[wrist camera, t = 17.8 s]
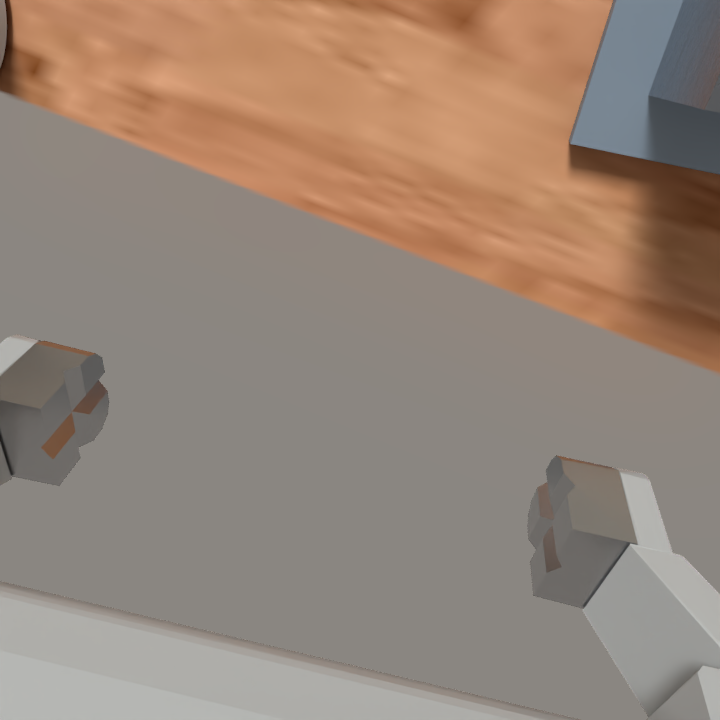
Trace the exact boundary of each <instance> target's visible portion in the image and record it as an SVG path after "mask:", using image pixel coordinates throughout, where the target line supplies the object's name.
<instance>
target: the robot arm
mask: <svg viewBox="0 0 720 720" xmlns="http://www.w3.org/2000/svg"><path fill="white" fill-rule="evenodd" d="M6 37H7V17H6V6H5V0H0V68H1V64H2V61H3V57H4V53H5V47H6ZM104 373H105V370H104V365H103V360H102V357H100V356H99V355H97V354H95V353H91V352H87V351H83V350H79V349H75V348H71V347H67V346H63V345H59V344H55V343H51V342H47V341H40V340H36V339H32V338H28V337H24V336H20V335H15V336H11V337H8V338H6V339H5V340H4V341H3V342H2V343H1V344H0V485H2V484H4V483H5V482H7V481H9V480H11V478H12V477H11V476H13V477H18V478H23V479H28V480H32V481H37V482H42V483H47V484H52V485H57V486H60V484H61V483H62V482H63V480H64V479H65V478H66V477H67V475H68V474H69V473H70V471H71V470H72V468H73V467H74V466H75V465H76V463H77V462H78V461H79V459H80V453H79V447H81V446H83V445H85V444H87V443H89V442H91V441H93V440H94V439H95V438H96V436H97V435H98V434H99V432H100V431H101V430H102V427H103V425H104V422H105V420H106V417H107V415H108V407H109V398H108V391H107V390H106V389H105V387H104V386H103V385H102V384H101V383H100V382H99V379H100V377H101V376H102V375H103V374H104ZM546 475H547V483H545V484H543V485H541V486H539V487H538V488H537V489H536V492H535V494H534V497H533V498H532V501H531V505H530V510H529V514H528V539H529V541H530V542H531V543H532V545H533V546H534V547H535V549H536V551H535V553H534V555H533V557H532V559H531V561H530V565H531V576H532V587H533V595H534V596H537V597H541V598H544V599H548V600H552V601H556V602H560V603H564V604H568V605H571V606H575V607H579V608H583V613H584V614H585V616H586V617H587V619H588V620H589V622H590V624H591V625H592V627H593V628H594V630H595V632H596V633H597V635H598V637H599V638H600V640H601V641H602V643H603V645H604V646H605V648H606V650H607V651H608V653H609V654H610V656H611V657H612V659H613V661H614V662H615V664H616V666H617V667H618V669H619V671H620V672H621V674H622V675H623V677H624V679H625V680H626V682H627V683H628V685H629V687H630V688H631V690H632V691H633V693H634V695H635V696H636V698H637V700H638V701H639V702H640V704H641V706H642V708H643V709H644V711H645V712H646V714H647V716H648V717H649V718H648V719H647V720H720V594H719V593H718V592H717V591H716V590H715V589H714V588H713V587H712V586H711V585H710V584H709V583H708V582H707V581H706V580H705V579H704V578H703V577H702V576H701V575H700V574H699V573H698V571H696V570H695V568H694V567H693V566H692V565H691V564H690V563H689V562H688V561H687V560H686V559H685V558H684V557H683V556H681V555H677V554H673V551H672V548H671V545H670V542H669V539H668V536H667V533H666V530H665V527H664V523H663V520H662V517H661V514H660V511H659V508H658V505H657V502H656V499H655V496H654V493H653V490H652V487H651V484H650V480H649V478H648V477H647V476H646V475H645V474H644V473H639V472H634V471H629V470H625V469H619V468H612V467H608V466H603V465H598V464H594V463H589V462H584V461H580V460H575V459H571V458H566V457H561V456H555V457H554V458H553V459H552V460H551V462H550V464H549V466H548V468H547V469H546ZM0 720H579V719H575V718H571V717H567V716H563V715H558V714H554V713H550V712H546V711H542V710H537V709H533V708H529V707H525V706H520V705H516V704H512V703H508V702H504V701H500V700H496V699H492V698H487V697H483V696H478V695H475V694H470V693H466V692H462V691H458V690H454V689H450V688H445V687H441V686H436V685H432V684H428V683H424V682H420V681H416V680H412V679H408V678H403V677H399V676H395V675H391V674H387V673H382V672H378V671H374V670H370V669H366V668H362V667H357V666H353V665H349V664H344V663H341V662H336V661H332V660H328V659H323V658H320V657H315V656H311V655H307V654H303V653H299V652H294V651H290V650H286V649H282V648H278V647H274V646H269V645H265V644H261V643H256V642H252V641H248V640H244V639H239V638H236V637H231V636H227V635H223V634H219V633H215V632H211V631H206V630H202V629H198V628H194V627H190V626H186V625H181V624H177V623H173V622H169V621H165V620H160V619H156V618H152V617H148V616H143V615H139V614H135V613H131V612H127V611H123V610H118V609H114V608H110V607H106V606H102V605H98V604H93V603H89V602H85V601H81V600H76V599H73V598H68V597H64V596H60V595H56V594H51V593H47V592H43V591H39V590H35V589H31V588H27V587H22V586H18V585H14V584H9V583H5V582H1V581H0Z"/></svg>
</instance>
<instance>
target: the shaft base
mask: <svg viewBox="0 0 720 720" xmlns="http://www.w3.org/2000/svg"><path fill="white" fill-rule="evenodd" d="M682 2H683V0H613V3H612V7H611V10H610V13H609V16H608V19H607V22H606V25H605V29H604V32H603V35H602V38H601V41H600V44H599V47H598V51H597V54H596V57H595V60H594V63H593V66H592V69H591V73H590V76H589V79H588V82H587V85H586V88H585V91H584V95H583V98H582V101H581V104H580V107H579V110H578V113H577V117H576V120H575V123H574V126H573V129H572V132H571V135H570V139H569V142H570V144H573V145H578V146H583V147H588V148H593V149H598V150H602V151H607V152H612V153H617V154H622V155H627V156H632V157H637V158H642V159H646V160H651V161H656V162H661V163H666V164H671V165H676V166H681V167H685V168H690V169H695V170H700V171H705V172H710V173H715V174H720V113H719V112H713V111H708V110H703V109H700V108H696V107H692V106H688V105H684V104H680V103H676V102H672V101H668V100H665V99H661V98H657V97H653V96H649V92H650V90H651V87H652V84H653V81H654V79H655V76H656V73H657V70H658V68H659V65H660V62H661V60H662V57H663V54H664V51H665V49H666V46H667V43H668V40H669V38H670V35H671V32H672V30H673V27H674V24H675V21H676V19H677V16H678V13H679V10H680V8H681V5H682Z"/></svg>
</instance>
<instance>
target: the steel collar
mask: <svg viewBox="0 0 720 720" xmlns="http://www.w3.org/2000/svg"><path fill="white" fill-rule="evenodd" d="M649 96H653V97H657V98H661V99H665V100H668V101H672V102H676V103H680V104H684V105H688V106H692V107H696V108H700V109H703V110H708V111H713V112H719V113H720V0H683V2H682V5H681V8H680V10H679V13H678V16H677V19H676V21H675V24H674V27H673V30H672V32H671V35H670V38H669V40H668V43H667V46H666V49H665V51H664V54H663V57H662V60H661V62H660V65H659V68H658V70H657V73H656V76H655V79H654V81H653V84H652V87H651V90H650V92H649Z"/></svg>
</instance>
